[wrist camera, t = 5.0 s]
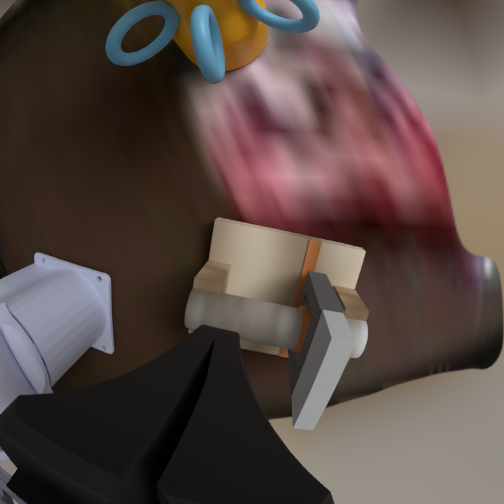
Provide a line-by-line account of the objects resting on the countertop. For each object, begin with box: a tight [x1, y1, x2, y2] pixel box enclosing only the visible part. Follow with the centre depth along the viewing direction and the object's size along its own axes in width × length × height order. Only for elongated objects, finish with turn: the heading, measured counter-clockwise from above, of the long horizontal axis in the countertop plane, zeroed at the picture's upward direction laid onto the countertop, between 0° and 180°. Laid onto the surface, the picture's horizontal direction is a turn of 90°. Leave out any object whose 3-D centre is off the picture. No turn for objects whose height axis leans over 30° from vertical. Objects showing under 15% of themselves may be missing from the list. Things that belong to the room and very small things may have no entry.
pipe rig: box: [185, 218, 369, 362], centre depth 17 cm, size 10×9×6 cm
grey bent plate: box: [288, 271, 356, 430], centre depth 14 cm, size 1×5×8 cm, turn 169°
